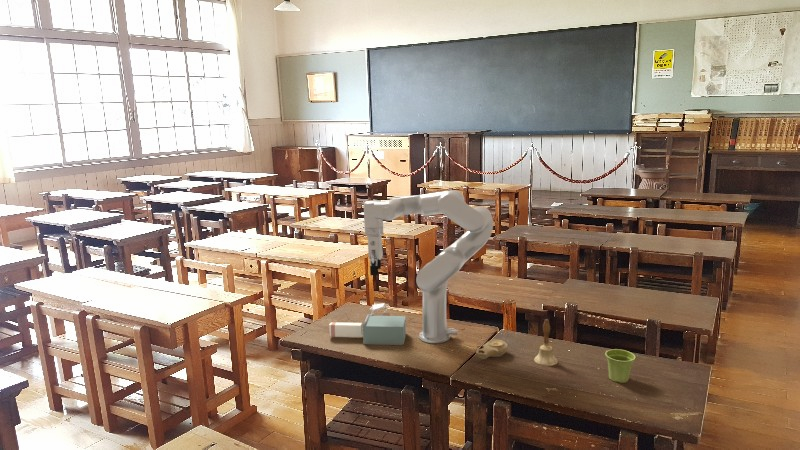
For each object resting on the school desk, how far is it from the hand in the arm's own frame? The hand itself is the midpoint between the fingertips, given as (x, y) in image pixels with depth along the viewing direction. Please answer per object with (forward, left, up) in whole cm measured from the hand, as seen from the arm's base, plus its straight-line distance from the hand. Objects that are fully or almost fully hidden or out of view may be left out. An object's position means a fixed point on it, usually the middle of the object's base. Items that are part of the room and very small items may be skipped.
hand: (375, 271), depth 228 cm
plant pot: (-87, +39, -26) cm, 99 cm away
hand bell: (-65, +26, -26) cm, 75 cm away
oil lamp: (-46, +23, -26) cm, 58 cm away
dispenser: (-4, +8, -26) cm, 27 cm away
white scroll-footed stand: (+2, -17, -26) cm, 31 cm away
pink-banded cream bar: (+12, +8, -25) cm, 29 cm away
